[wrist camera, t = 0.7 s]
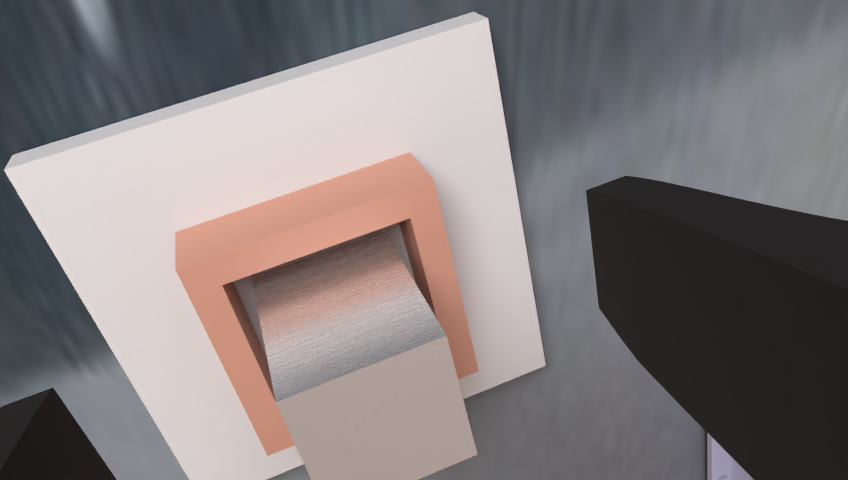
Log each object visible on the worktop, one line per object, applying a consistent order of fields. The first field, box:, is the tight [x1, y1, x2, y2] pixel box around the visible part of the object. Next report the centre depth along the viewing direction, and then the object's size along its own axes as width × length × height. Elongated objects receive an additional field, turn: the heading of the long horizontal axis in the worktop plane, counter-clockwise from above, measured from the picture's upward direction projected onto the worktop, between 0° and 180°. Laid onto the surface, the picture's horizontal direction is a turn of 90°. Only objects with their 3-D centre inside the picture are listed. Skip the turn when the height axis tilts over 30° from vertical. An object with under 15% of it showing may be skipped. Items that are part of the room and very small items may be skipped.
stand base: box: [4, 12, 546, 480], centre depth 19 cm, size 12×12×4 cm
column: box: [251, 228, 478, 480], centre depth 17 cm, size 4×4×6 cm
